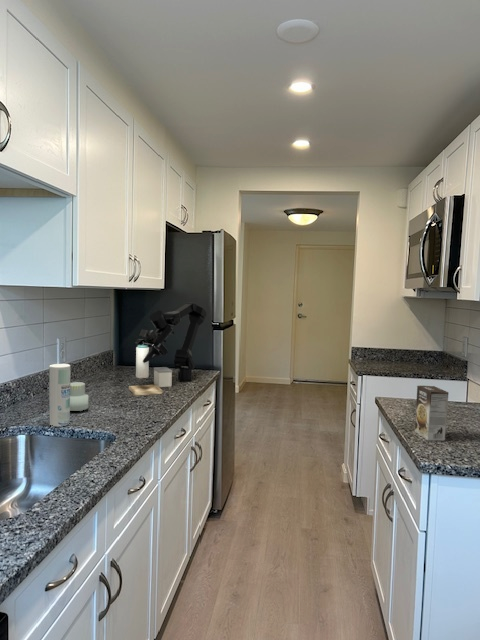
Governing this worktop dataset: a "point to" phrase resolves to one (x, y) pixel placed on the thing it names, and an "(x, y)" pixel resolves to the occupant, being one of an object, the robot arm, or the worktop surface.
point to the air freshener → (78, 397)
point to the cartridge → (142, 367)
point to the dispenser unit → (162, 376)
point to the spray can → (59, 394)
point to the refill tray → (145, 390)
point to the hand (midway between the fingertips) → (139, 361)
